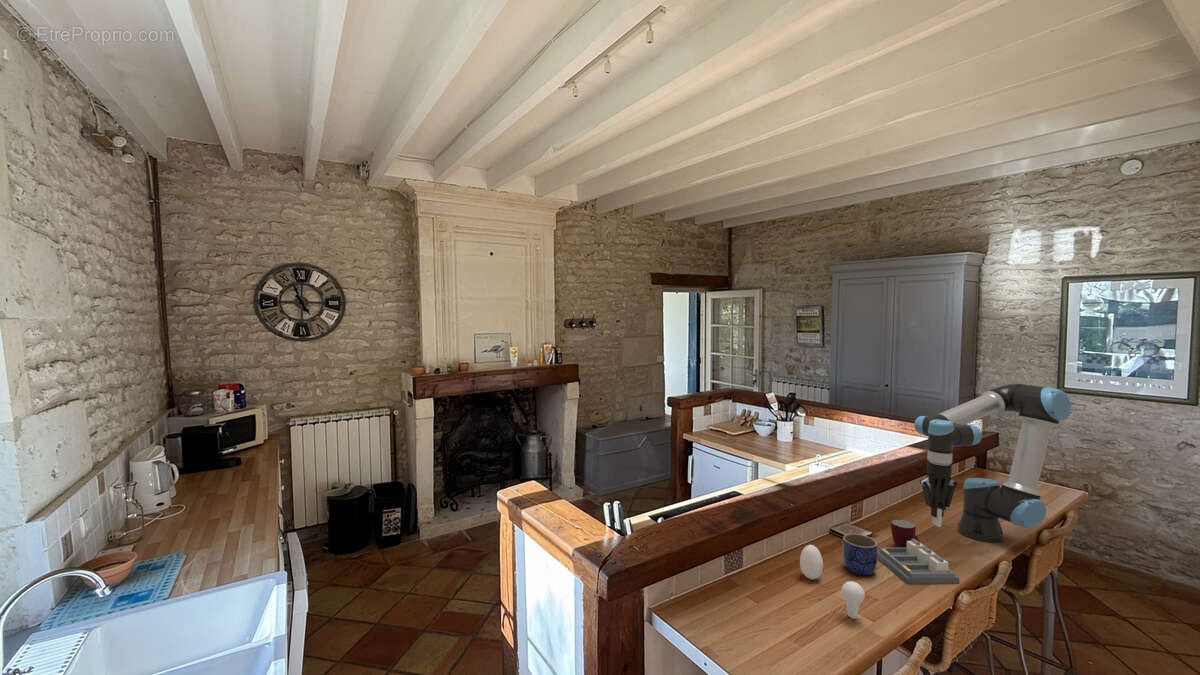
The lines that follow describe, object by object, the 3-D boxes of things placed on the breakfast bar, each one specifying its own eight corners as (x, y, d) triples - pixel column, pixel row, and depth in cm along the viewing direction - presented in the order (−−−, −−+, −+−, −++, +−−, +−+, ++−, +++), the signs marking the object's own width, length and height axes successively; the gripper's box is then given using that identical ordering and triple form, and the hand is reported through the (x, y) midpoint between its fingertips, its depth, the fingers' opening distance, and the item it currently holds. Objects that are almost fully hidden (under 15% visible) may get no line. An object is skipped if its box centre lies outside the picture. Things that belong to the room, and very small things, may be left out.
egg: (797, 580, 168) (797, 546, 167) (802, 570, 174) (802, 538, 173) (820, 586, 163) (821, 552, 163) (824, 576, 170) (825, 544, 169)
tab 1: (917, 552, 182) (917, 538, 182) (924, 557, 178) (924, 543, 178) (906, 552, 182) (906, 538, 182) (913, 558, 178) (913, 543, 178)
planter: (873, 565, 177) (874, 535, 176) (879, 581, 167) (880, 549, 166) (840, 560, 181) (840, 531, 180) (844, 575, 170) (845, 544, 170)
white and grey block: (939, 569, 170) (940, 554, 170) (947, 575, 166) (948, 559, 166) (928, 569, 170) (928, 554, 170) (936, 575, 166) (936, 559, 166)
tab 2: (927, 560, 176) (928, 545, 176) (935, 566, 172) (936, 551, 172) (917, 560, 176) (917, 546, 176) (924, 566, 172) (924, 551, 172)
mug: (926, 554, 185) (926, 528, 185) (913, 558, 181) (913, 532, 181) (899, 543, 194) (899, 518, 194) (886, 547, 191) (886, 521, 191)
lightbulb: (837, 612, 149) (837, 577, 149) (856, 611, 150) (856, 576, 149) (848, 625, 143) (849, 588, 143) (868, 624, 144) (869, 587, 143)
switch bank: (922, 556, 184) (922, 546, 183) (959, 583, 165) (959, 572, 165) (875, 556, 183) (875, 547, 183) (906, 583, 165) (906, 573, 165)
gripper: (949, 459, 182) (946, 521, 183) (915, 459, 182) (912, 521, 183) (964, 465, 175) (961, 529, 176) (928, 465, 175) (926, 529, 176)
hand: (936, 525), depth 180 cm, fingers closed
